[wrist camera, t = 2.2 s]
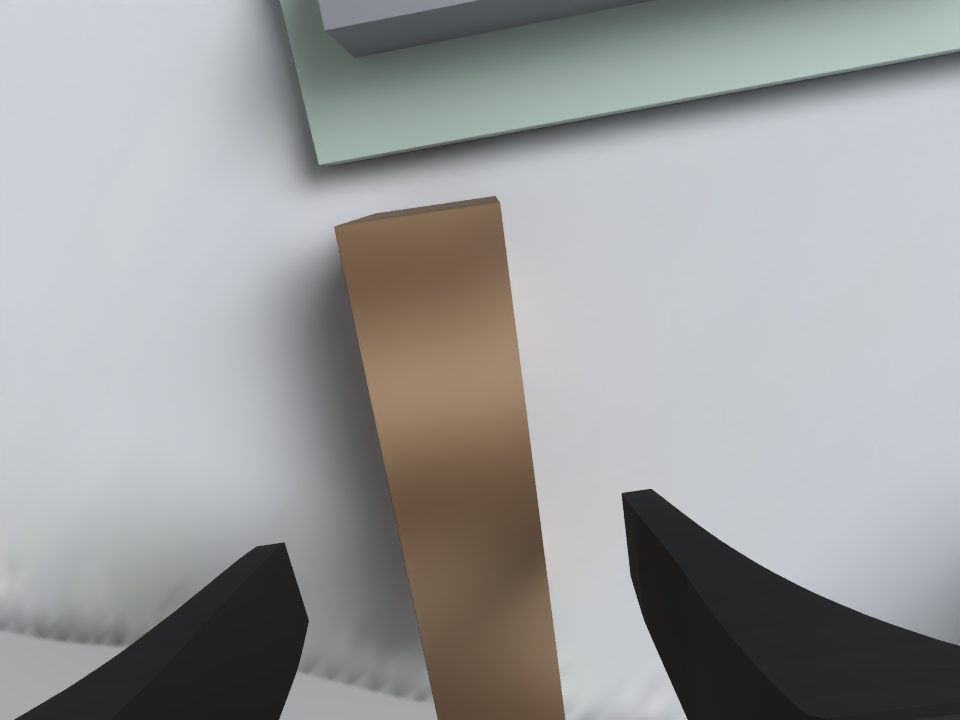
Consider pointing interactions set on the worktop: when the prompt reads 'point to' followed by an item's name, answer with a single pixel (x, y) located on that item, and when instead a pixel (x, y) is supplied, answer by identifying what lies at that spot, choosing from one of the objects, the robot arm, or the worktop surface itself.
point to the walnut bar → (457, 451)
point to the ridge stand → (570, 59)
